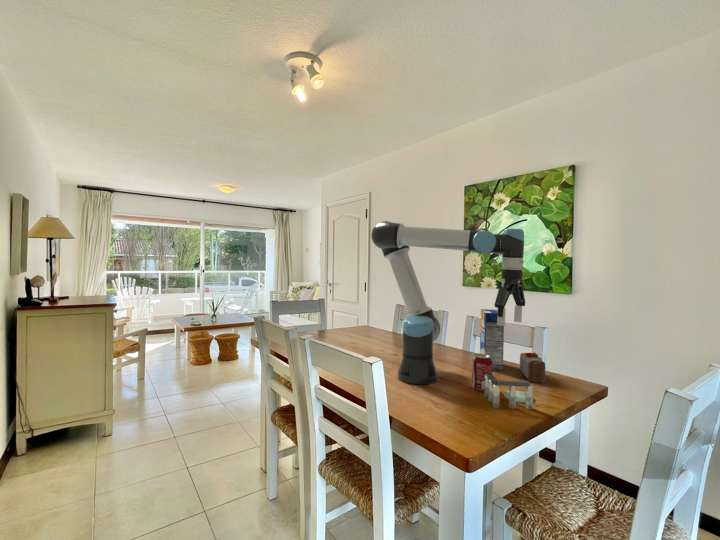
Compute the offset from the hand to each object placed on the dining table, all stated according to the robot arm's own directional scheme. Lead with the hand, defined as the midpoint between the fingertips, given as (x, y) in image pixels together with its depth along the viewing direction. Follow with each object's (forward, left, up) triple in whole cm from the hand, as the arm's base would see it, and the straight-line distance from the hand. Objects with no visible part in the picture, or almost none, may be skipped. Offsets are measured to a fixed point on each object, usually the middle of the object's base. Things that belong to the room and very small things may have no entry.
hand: (509, 323), depth 139 cm
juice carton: (-2, +17, -22) cm, 28 cm away
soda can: (-14, -12, -22) cm, 28 cm away
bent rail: (-9, -24, -22) cm, 33 cm away
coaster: (-4, -20, -22) cm, 29 cm away
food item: (+10, +3, -22) cm, 24 cm away
